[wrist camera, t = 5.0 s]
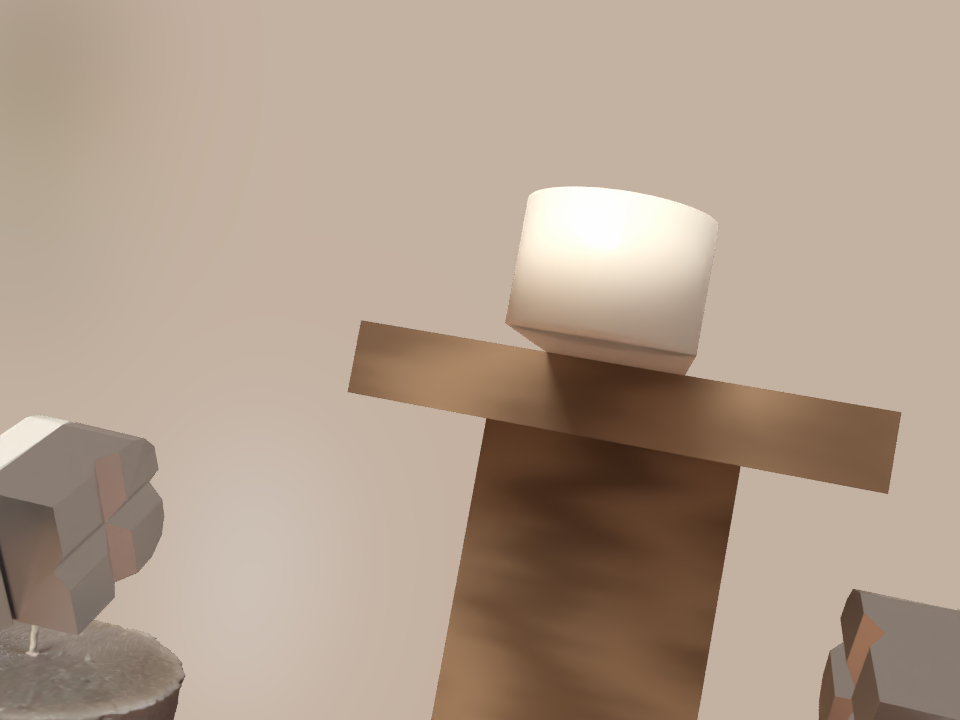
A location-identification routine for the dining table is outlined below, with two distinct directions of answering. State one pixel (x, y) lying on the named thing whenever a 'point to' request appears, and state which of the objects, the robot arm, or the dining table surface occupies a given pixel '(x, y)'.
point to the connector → (613, 277)
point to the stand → (601, 516)
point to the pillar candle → (86, 674)
